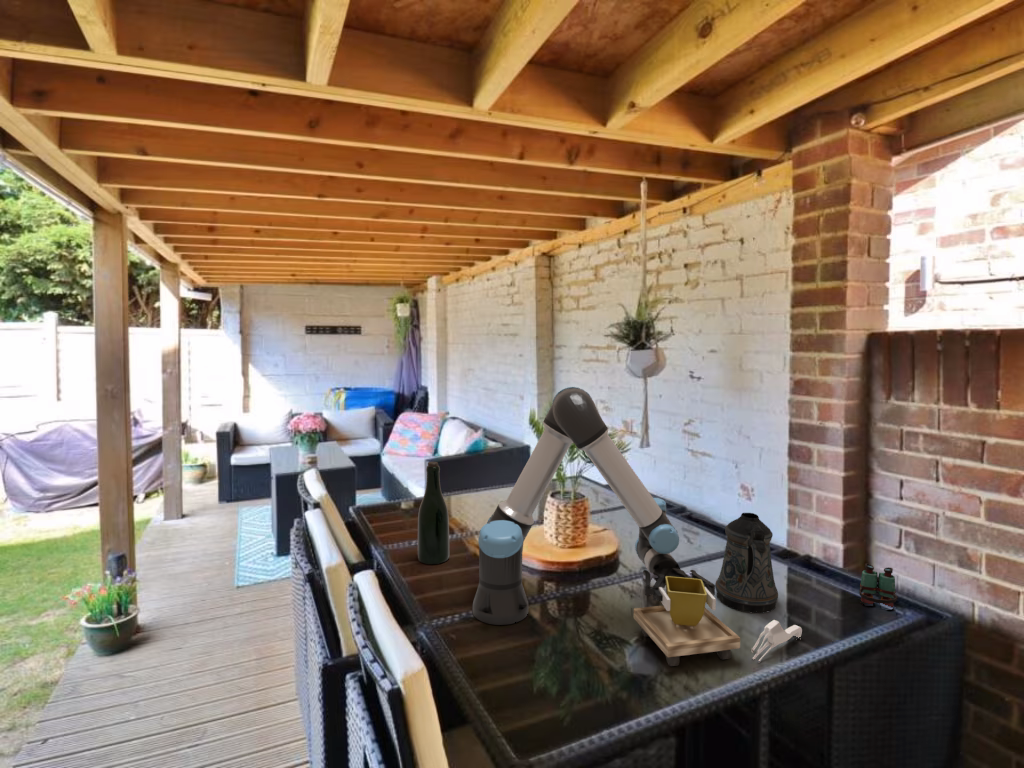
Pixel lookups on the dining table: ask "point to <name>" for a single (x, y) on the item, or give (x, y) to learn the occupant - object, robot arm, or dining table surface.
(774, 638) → the llama figurine
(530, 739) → the dining table surface
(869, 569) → the binoculars
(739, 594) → the beer stein
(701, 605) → the flower pot
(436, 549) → the dark green wine bottle
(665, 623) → the plant caddy
